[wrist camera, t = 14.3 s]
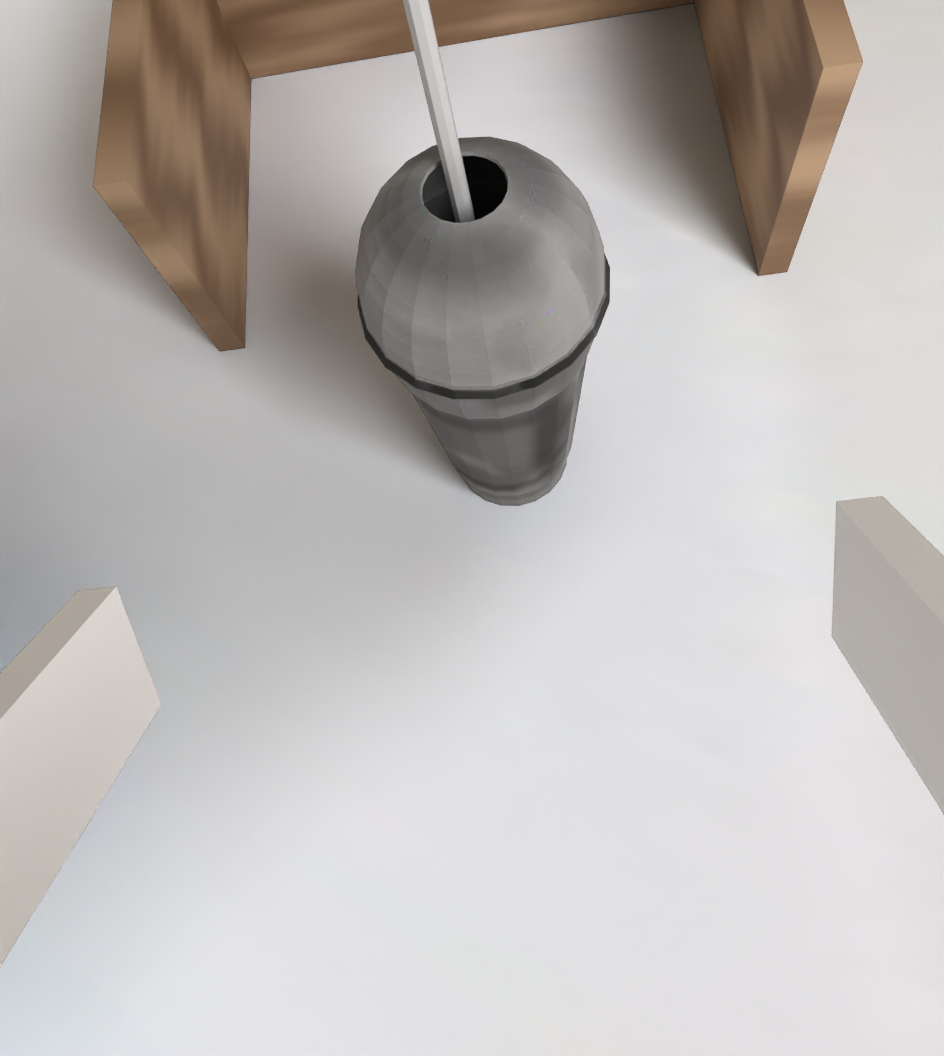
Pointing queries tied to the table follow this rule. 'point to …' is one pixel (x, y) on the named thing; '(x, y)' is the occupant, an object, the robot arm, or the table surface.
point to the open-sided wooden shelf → (382, 29)
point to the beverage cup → (484, 294)
